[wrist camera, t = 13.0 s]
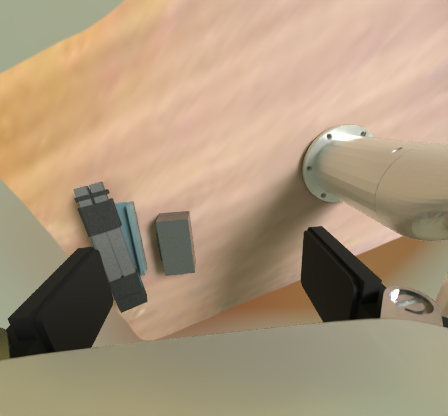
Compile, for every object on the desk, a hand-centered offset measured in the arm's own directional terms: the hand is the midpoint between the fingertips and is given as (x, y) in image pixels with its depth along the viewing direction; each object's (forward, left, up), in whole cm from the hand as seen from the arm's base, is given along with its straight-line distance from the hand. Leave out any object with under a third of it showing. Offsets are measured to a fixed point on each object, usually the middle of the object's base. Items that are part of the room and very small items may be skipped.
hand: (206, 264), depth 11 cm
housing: (+6, +13, -28) cm, 32 cm away
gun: (+16, +12, -28) cm, 34 cm away
